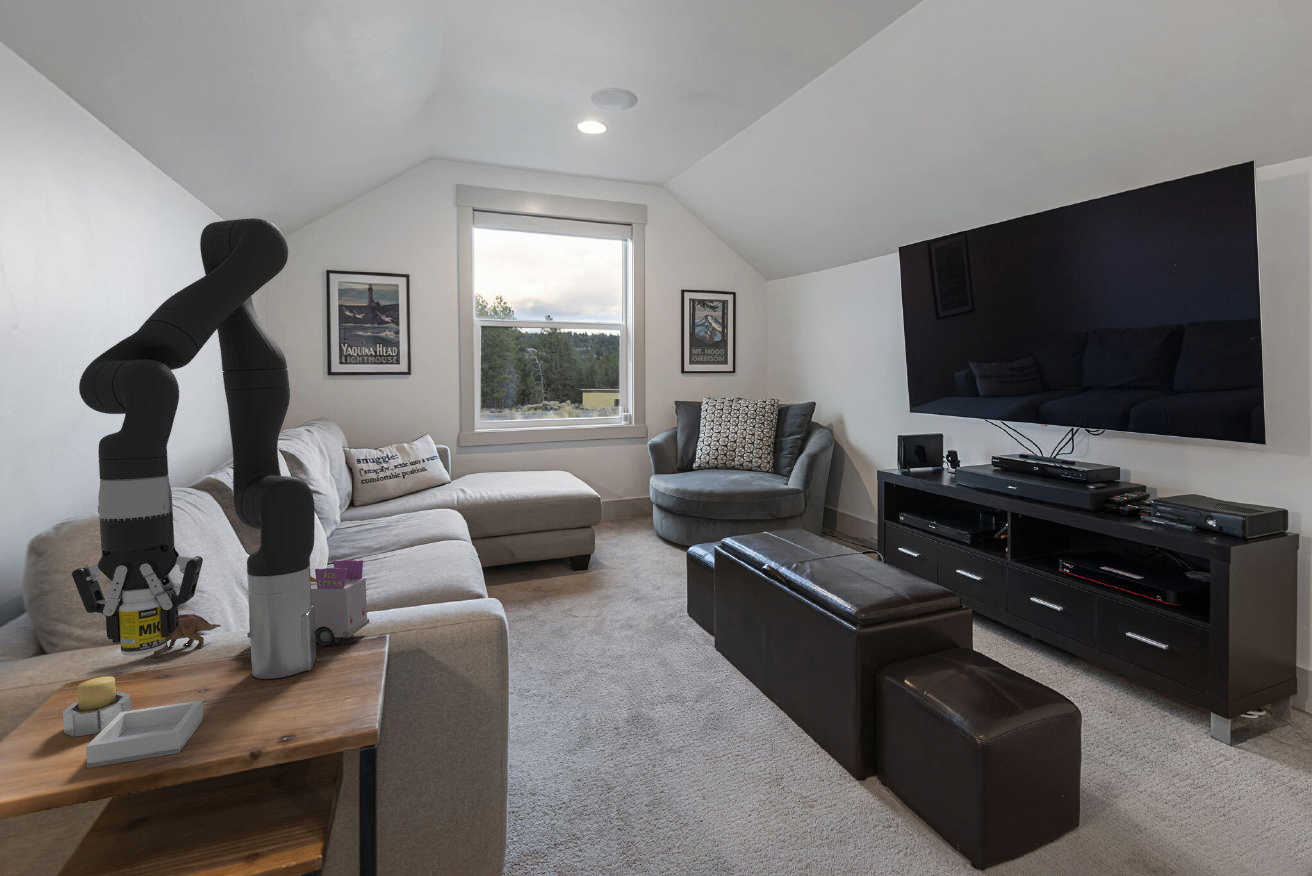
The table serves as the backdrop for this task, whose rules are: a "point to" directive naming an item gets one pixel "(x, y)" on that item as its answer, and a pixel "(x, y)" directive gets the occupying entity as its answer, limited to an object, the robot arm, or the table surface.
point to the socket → (94, 716)
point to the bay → (145, 734)
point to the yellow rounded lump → (96, 693)
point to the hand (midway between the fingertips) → (143, 637)
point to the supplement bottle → (140, 622)
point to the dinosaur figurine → (188, 631)
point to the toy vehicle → (338, 601)
